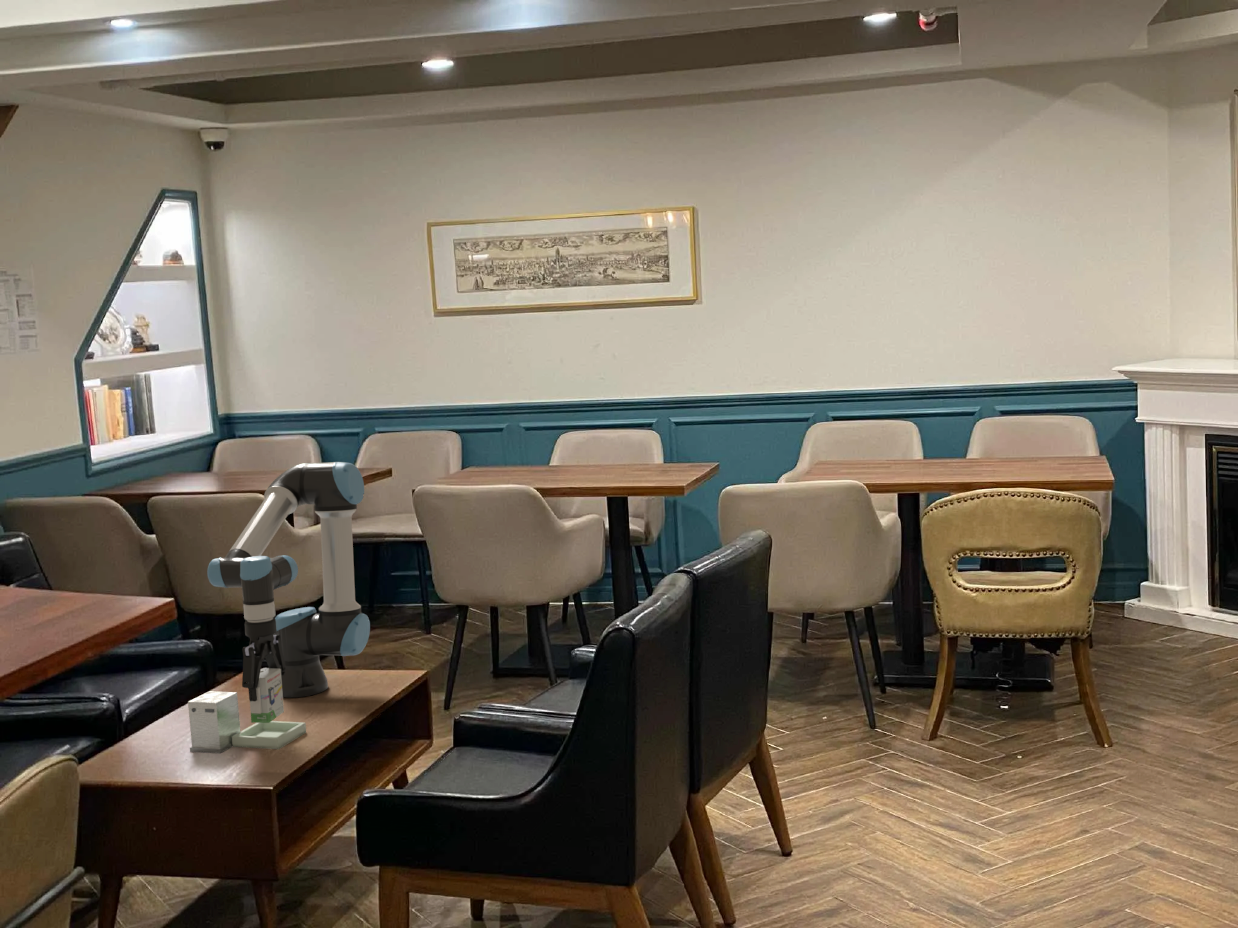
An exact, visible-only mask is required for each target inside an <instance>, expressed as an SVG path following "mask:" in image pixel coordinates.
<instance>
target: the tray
mask: <svg viewBox="0 0 1238 928" xmlns="http://www.w3.org/2000/svg"><path fill="white" fill-rule="evenodd" d="M306 726H307V725H306V722H302V721H301V722H299V721H284V720H283V721H280V720H278V721H277V720H272V721H271V722H270V723H254V724H251V725H249V726H248V727H245V728H244V729H243V730H240V732H239V733H237V734H235V735H234V736H232V745H233V746H232V747H233V748H248V749H250V748H252V749H263V750H265V749H267V750H280V749H282V748H283V747H285V746H286V745H288V744H290V743H292V742H294V741H295V740H296V739H298V738H300V737H301V736H303V735H305V734H306V733H307V727H306Z"/></svg>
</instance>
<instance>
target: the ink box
mask: <svg viewBox="0 0 1238 928" xmlns="http://www.w3.org/2000/svg"><path fill="white" fill-rule="evenodd" d="M258 687H260V694H261V706H262V713H261V714H257V713H251V712H250V720H251V721H250V722H251V723H254V724H255V723H270V722H271V721H275V719H276V718H278V717H279V716H280V715H282V714H283V713H284V711H285V710H284V709H285V707H284V697H283V692H282V679H281V669H276V668H269V667H263V668H262V667H261V670H260V676H259V681H258Z"/></svg>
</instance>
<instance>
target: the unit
mask: <svg viewBox="0 0 1238 928" xmlns="http://www.w3.org/2000/svg"><path fill="white" fill-rule="evenodd" d="M187 705H188V718H189V719H188V720H189V729H190V739H191V746H190V747H189V752H192V753H194V752H195V753H210V754H222V753H223V752H225V751H227V750H228V749H231V748H232V747H233V745H232V736H234V735H235V734H237V733H239V732H241V723H240V722H241V721H240V712H239V699H238V692H237V691H236V692H235V691H215V690H210V691H207V692H205V693H203V694H201V695H199V696H197V697H195V698H193V699H190V700H188V701H187Z"/></svg>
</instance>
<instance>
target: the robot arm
mask: <svg viewBox="0 0 1238 928" xmlns="http://www.w3.org/2000/svg"><path fill="white" fill-rule="evenodd" d="M364 494H365V483H364V478H363V475H362V473H361V471H360V470H359V468H358V467H357V465H355V464H354V463H351V462H345V461H333V462H331V461H330V462H303V463H297V464H295V465H293V466H291V467H290V468H288V469H287V470H285V471H283V472H282V473H281V474H280V475H278V476H277V477H276V478H275V479H274V480H272V482H271V483H270V484H269V486H268V487H267V489H266V490H265V491H264V495H263V498H264V499H263V501H262V503H261V504H260V505H259V507H258V509H257V510H256V511H255V513H254V514H253V515H252V517H251V518H250V520H249V522H248V523H247V525H246V526H245V527H244V529H243V531H242V532H241V533H240V535H239V536H238V537H237V539H236V541H235V542H234V543H233V545H232V546H231V548H230V549H229V551H228V552H227V553H226V555H225V557H221V556H220V557H218V558H216V557H215V558H213V559H212V560H211V561H209V564H208V566H207V572H206V573H207V579H208V581H209V584H211V585H212V586H213V587H214V588H215V587H217V588H225V589H228V588H230V589H231V588H241V594H242V605H243V607H242V608H243V615H244V616H243V618H244V620H245V622H244V634H245V636H246V637H247V638H249V645H248V646H243V647H242V649H241V651H242V658H243V660H242V679H241V680H242V681H241V687H242V688H245V689H248V697H249V698H248V699H249V706H250V707H249V708H250V710H249V711H250V714H251V713H257V714H261V713H262V706H261V694H260V687H258V681H259V676H260V670H261V669H262V664H263V662H264V660H265V661H266V663H267V667H268V668H276V669H281V679H282V692H283V698H289V699H290V698H303V697H309V696H313V695H317V694H321V693H322V692H325V691H326V690H327V689H328V688H329V684H328V682H329V681H328V678H327V675H326V673H325V671H324V668H323V666H322V663H321V661H320V660H321V659H320V656H342V657H346V656H348V657H349V656H358V655H360V654H361V653H362V652H363V651H364V649H365V648H366V645H367V643H368V642H369V639H370V638H369V637H370V632H371V621H370V619H369V617H368V615H367V614H365V613H363V612H362V605H361V604H359V603H358V602H357V601H356V588H355V586H356V585H355V566H354V547H353V546H354V545H353V544H354V543H353V541H354V539H353V520H352V519H353V518H352V517H353V514H355V512H356V511H357V510H358V507H357V506H358V504H361V503H362V501H363V500H364ZM304 505H313V508H314V513H315V514H316V515H317V516H319V518H320V538H321V539H320V544H321V561H322V562H321V563H322V564H321V565H322V587H323V588H322V590H323V602H322V605H320V606H319V607H318V613H317V610H316V608H315V607H314V606H307V607H306V606H305V607H300V608H295V609H289V610H287V611H284V612H281V613H279V614H277V615H276V607H275V606H276V605H275V594H274V590H277V589H279V588H282V587H286V586H288V585H289V584H290V583H292V582H294V581H295V580H296V578H297V576H298V575H299V574H298V573H299V568H298V567H299V566H298V563H297V561H296V560H295V559H294V558H293V557H291V556H289V555H284V554H282V555H276V556H274V557H269V556H267V555H263V553H264V552H265V550H267V547H268V546H269V544H270V543H271V541H272V540H273V538H274V536H276V534H277V532H278V531H279V529H280V527H281V526H282V524H283V523H284V521H285V519H287V517H288V516H289V515H290V514H293V513H294V512H296V510H297V508H298V507H300V506H304Z"/></svg>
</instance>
